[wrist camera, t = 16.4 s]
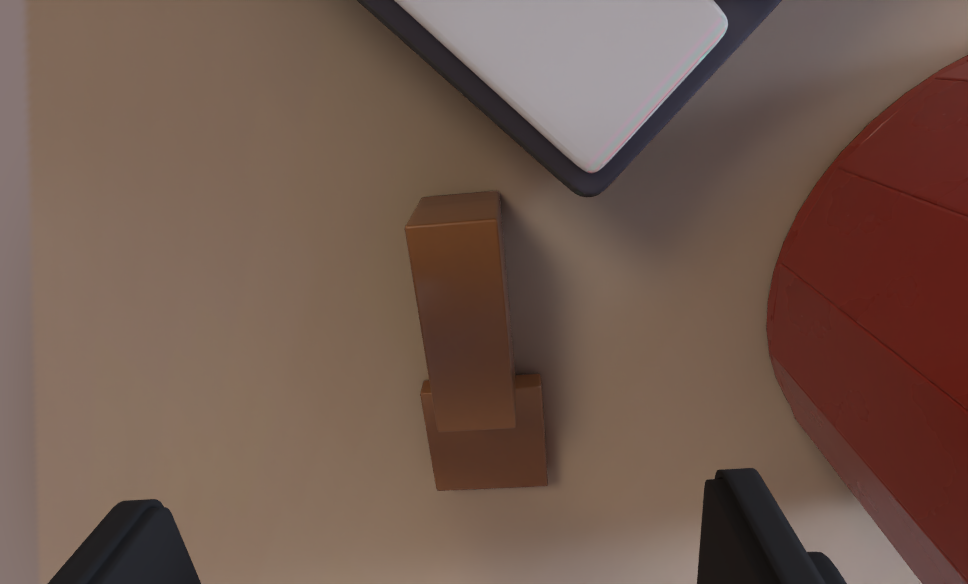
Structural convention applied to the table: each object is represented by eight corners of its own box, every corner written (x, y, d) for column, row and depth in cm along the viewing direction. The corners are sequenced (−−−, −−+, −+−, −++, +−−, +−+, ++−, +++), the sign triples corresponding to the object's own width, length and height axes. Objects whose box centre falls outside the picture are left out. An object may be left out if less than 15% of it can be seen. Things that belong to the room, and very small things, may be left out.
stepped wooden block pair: (393, 199, 16) (370, 229, 13) (528, 187, 15) (532, 215, 13) (439, 475, 20) (428, 539, 17) (546, 469, 19) (552, 534, 17)
